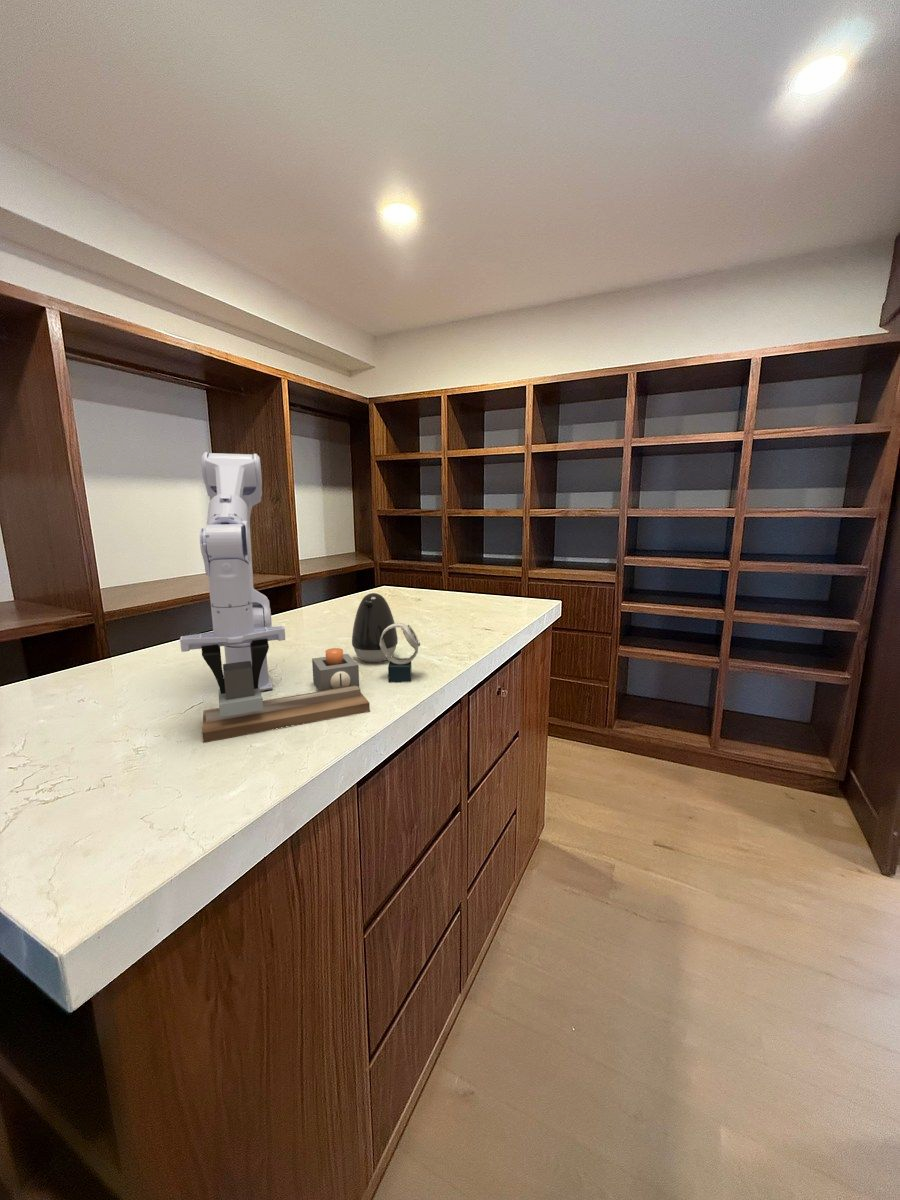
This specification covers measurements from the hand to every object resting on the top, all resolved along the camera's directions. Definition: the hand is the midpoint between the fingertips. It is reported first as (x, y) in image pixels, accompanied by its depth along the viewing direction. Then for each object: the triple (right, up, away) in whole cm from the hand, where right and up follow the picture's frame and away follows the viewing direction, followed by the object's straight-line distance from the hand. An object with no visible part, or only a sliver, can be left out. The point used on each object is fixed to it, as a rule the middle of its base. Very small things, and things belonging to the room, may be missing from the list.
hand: (239, 689), depth 75 cm
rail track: (+6, -5, +4) cm, 9 cm away
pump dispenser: (+16, 0, +34) cm, 37 cm away
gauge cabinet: (+11, -3, +17) cm, 20 cm away
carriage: (0, -3, 0) cm, 3 cm away
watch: (+23, -2, +22) cm, 32 cm away
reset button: (+11, +2, +16) cm, 19 cm away
